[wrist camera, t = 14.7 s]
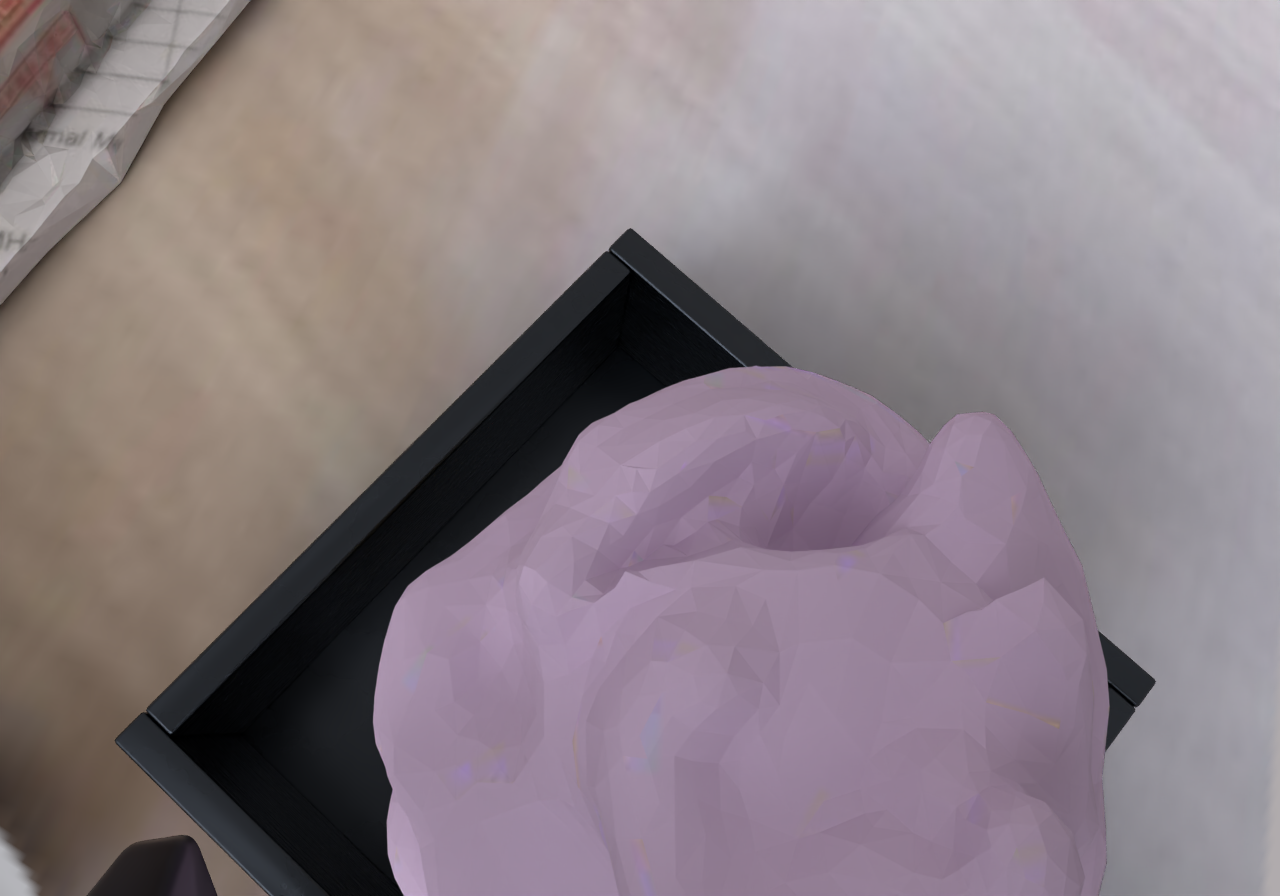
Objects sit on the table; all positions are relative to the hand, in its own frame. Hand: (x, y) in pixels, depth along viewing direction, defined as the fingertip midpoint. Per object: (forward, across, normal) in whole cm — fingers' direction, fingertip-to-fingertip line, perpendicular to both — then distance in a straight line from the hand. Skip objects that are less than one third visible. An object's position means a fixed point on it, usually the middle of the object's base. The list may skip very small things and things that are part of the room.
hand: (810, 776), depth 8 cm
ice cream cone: (+10, 0, +9) cm, 13 cm away
